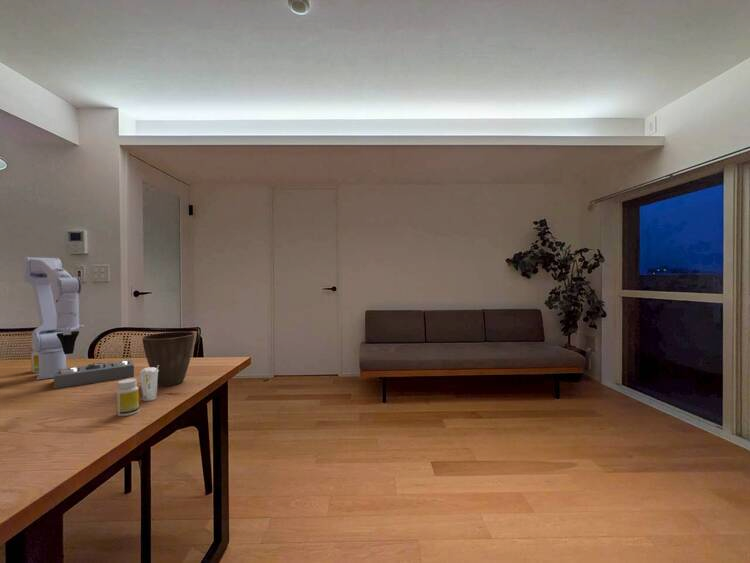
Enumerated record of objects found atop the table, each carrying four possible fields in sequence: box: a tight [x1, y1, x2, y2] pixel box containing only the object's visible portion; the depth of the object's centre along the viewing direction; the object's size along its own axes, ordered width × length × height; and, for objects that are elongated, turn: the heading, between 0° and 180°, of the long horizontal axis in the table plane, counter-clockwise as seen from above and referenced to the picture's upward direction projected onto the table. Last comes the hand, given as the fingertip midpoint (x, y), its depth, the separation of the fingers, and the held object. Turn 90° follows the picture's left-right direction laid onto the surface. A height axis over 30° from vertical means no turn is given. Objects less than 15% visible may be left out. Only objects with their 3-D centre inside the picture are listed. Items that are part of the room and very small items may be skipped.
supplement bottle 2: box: [115, 378, 140, 417], centre depth 91 cm, size 5×5×8 cm
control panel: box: [53, 359, 135, 390], centre depth 122 cm, size 11×21×4 cm, turn 129°
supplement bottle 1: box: [30, 350, 39, 374], centre depth 133 cm, size 5×5×10 cm
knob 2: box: [112, 359, 129, 366], centre depth 127 cm, size 4×4×4 cm
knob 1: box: [60, 366, 78, 373], centre depth 118 cm, size 4×4×4 cm
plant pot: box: [141, 331, 195, 387], centre depth 117 cm, size 15×15×16 cm
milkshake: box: [139, 365, 159, 402], centre depth 101 cm, size 4×5×10 cm
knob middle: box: [87, 362, 105, 370], centre depth 122 cm, size 4×4×4 cm
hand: (68, 353), depth 118 cm, fingers closed
